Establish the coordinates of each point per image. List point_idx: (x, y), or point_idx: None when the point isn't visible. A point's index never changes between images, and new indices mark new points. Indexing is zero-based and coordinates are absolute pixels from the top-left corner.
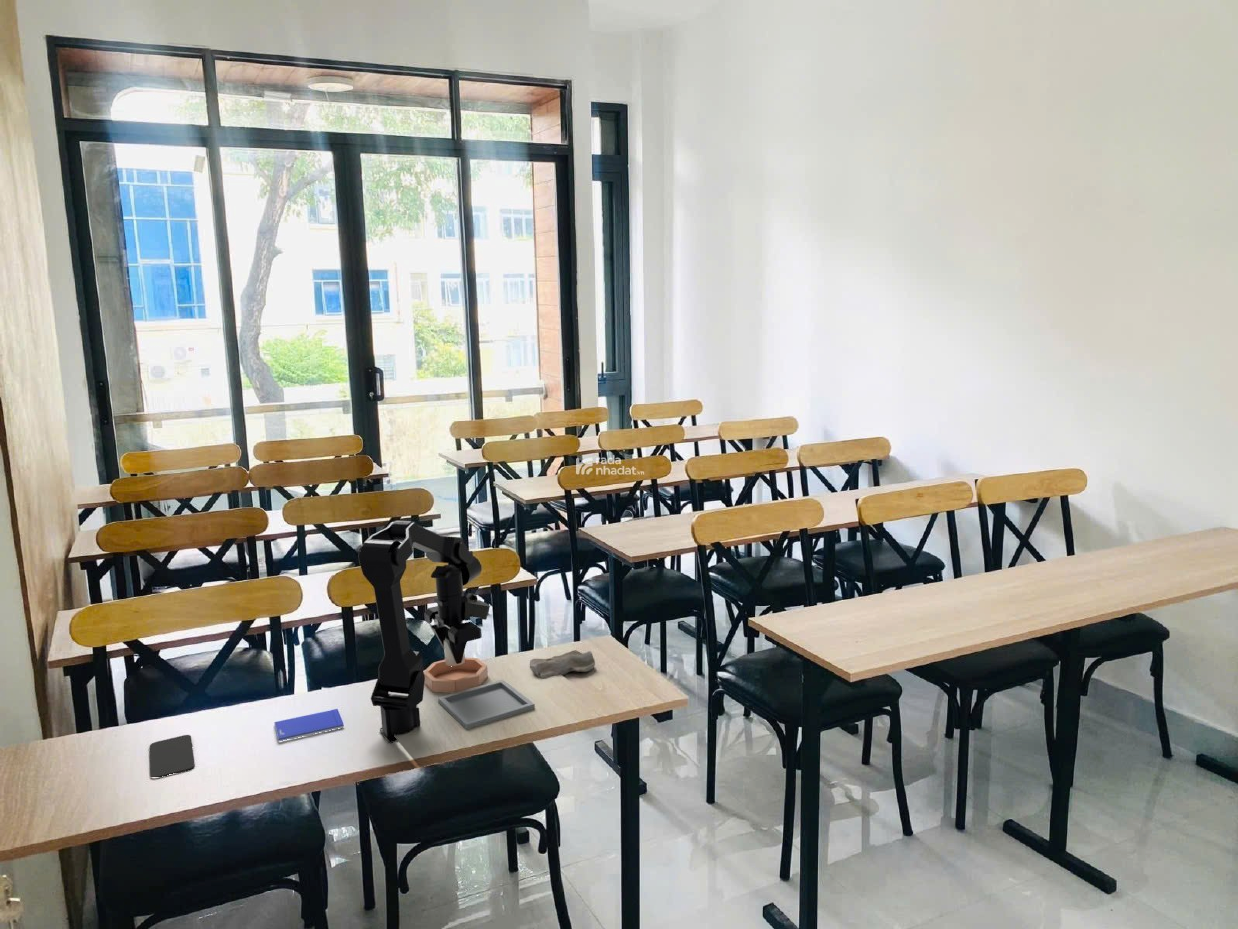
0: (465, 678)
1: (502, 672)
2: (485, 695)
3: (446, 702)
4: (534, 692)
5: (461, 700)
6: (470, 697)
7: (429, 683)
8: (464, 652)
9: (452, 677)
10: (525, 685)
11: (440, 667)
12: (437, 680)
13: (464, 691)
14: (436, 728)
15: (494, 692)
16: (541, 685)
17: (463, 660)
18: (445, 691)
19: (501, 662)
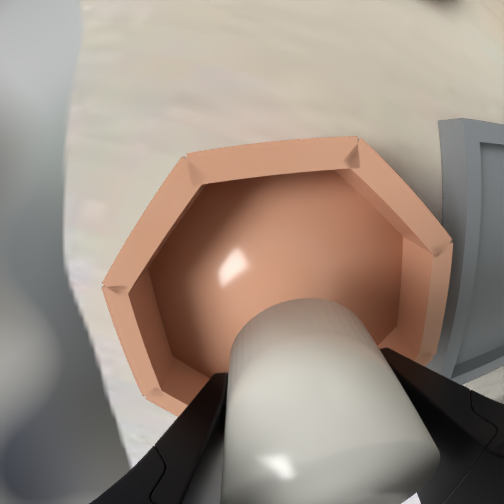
0: (439, 310)
1: (264, 45)
2: (492, 232)
3: (475, 373)
4: (496, 58)
5: (470, 320)
6: (474, 287)
7: None
8: (367, 347)
9: (250, 312)
10: (444, 41)
11: (161, 358)
12: None
13: (463, 312)
14: (494, 379)
15: (492, 191)
16: (459, 7)
17: (365, 329)
18: None
19: (137, 25)
